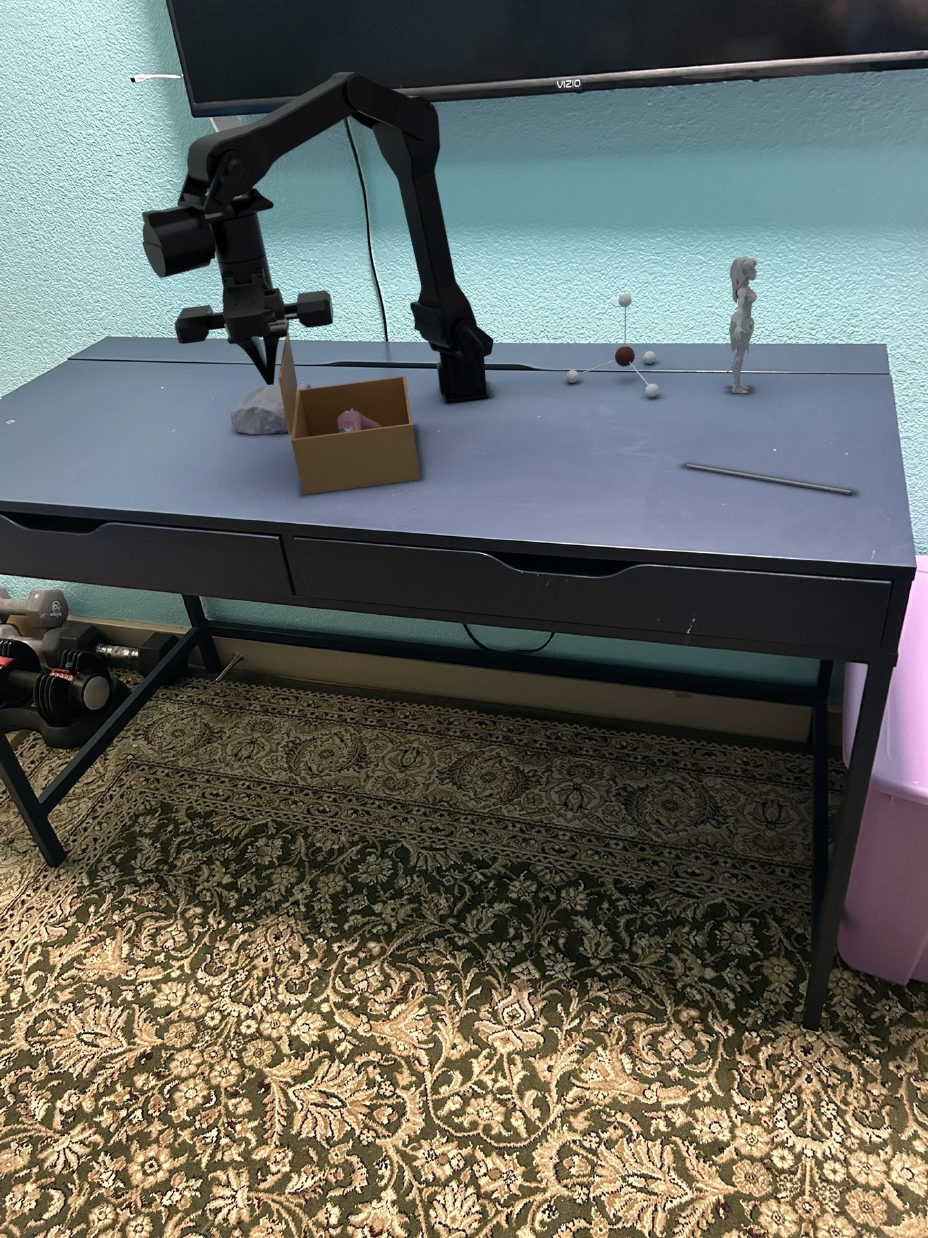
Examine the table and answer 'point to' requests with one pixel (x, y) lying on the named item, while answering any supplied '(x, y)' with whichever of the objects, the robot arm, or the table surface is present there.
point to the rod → (771, 479)
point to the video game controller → (355, 422)
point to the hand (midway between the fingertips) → (270, 383)
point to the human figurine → (741, 315)
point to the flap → (288, 383)
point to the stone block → (262, 411)
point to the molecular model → (624, 355)
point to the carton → (354, 436)
